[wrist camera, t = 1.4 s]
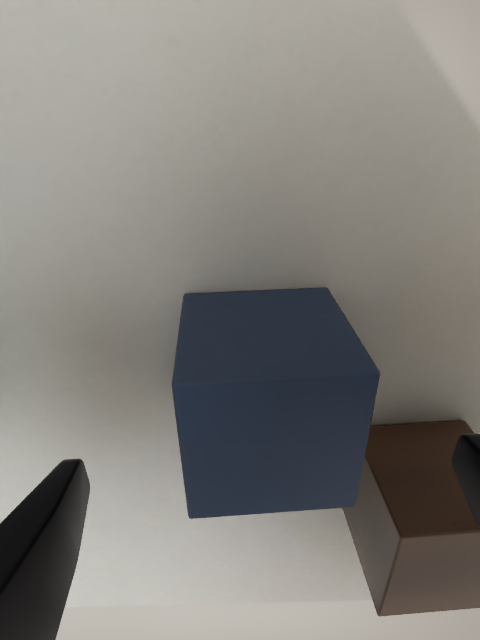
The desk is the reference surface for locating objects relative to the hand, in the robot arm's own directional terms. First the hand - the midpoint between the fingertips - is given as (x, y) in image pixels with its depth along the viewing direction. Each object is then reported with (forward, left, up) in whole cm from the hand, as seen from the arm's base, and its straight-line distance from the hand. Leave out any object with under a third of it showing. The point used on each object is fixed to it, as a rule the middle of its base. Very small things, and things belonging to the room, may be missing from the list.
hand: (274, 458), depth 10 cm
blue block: (0, 0, -5) cm, 5 cm away
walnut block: (-6, -6, -5) cm, 10 cm away
